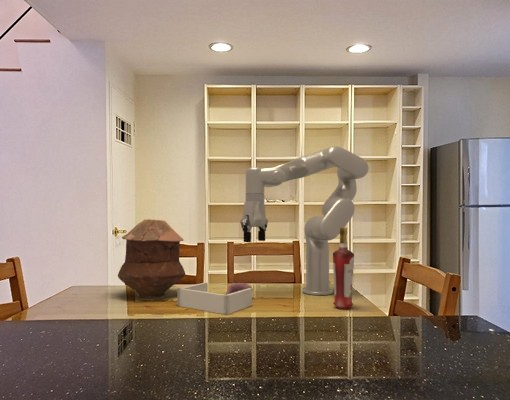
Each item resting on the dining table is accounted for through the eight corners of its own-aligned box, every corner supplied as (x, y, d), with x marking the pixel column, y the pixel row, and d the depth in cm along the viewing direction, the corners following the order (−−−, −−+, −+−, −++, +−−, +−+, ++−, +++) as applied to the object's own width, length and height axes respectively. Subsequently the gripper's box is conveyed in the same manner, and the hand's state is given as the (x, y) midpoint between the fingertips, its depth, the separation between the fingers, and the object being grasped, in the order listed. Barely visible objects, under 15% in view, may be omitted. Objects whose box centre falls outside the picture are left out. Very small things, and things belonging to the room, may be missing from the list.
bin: (204, 298, 150) (205, 282, 150) (251, 305, 138) (252, 288, 139) (177, 305, 137) (177, 288, 137) (226, 314, 126) (227, 295, 126)
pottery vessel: (102, 298, 148) (104, 219, 149) (145, 286, 172) (146, 218, 173) (159, 304, 138) (160, 220, 139) (196, 291, 162) (197, 219, 163)
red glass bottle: (337, 304, 141) (337, 227, 142) (357, 307, 137) (357, 227, 138) (329, 308, 135) (329, 227, 136) (349, 311, 131) (349, 228, 132)
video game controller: (251, 303, 150) (254, 285, 153) (248, 299, 146) (251, 281, 149) (228, 301, 153) (231, 283, 156) (224, 297, 149) (227, 280, 152)
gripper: (259, 199, 165) (259, 240, 165) (234, 197, 151) (233, 242, 151) (274, 199, 161) (274, 240, 160) (249, 197, 147) (249, 243, 146)
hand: (254, 241), depth 155 cm, fingers open, 9 cm apart
